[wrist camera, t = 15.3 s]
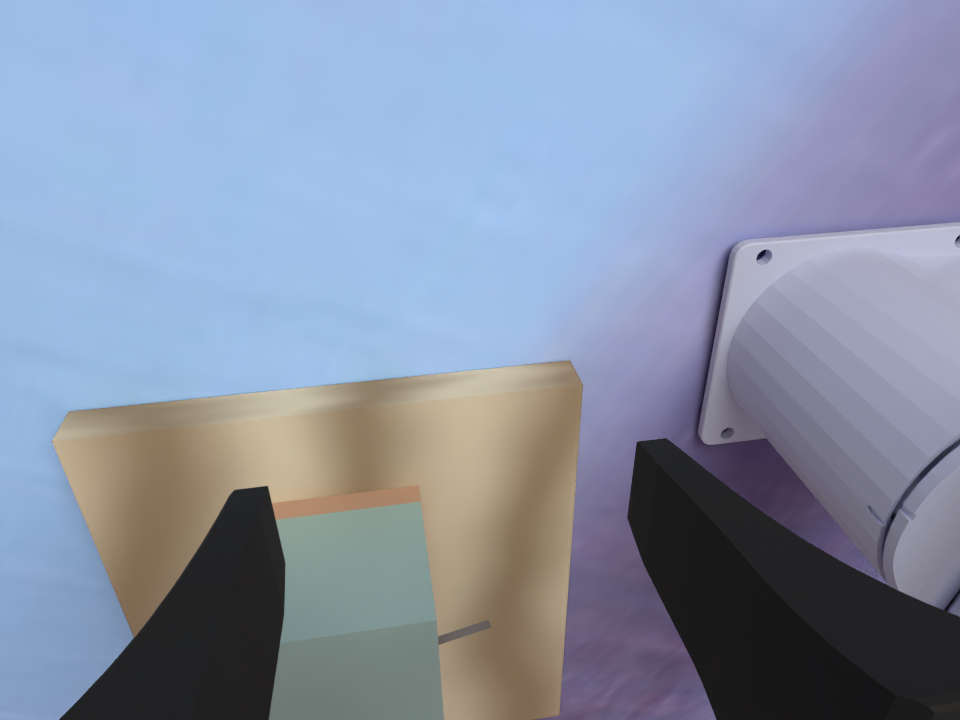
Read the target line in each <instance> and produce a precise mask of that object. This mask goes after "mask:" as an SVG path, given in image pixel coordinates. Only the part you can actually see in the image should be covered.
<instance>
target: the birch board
mask: <svg viewBox="0 0 960 720" xmlns="http://www.w3.org/2000/svg"><path fill="white" fill-rule="evenodd" d="M582 390H583V384H582V382H581V380H580V378H579V376H578V374H577V372H576V370H575V369H574V367H573V365H572V363H571V361H560V362H550V363H540V364H531V365H521V366H511V367H501V368H492V369H482V370H472V371H462V372H453V373H443V374H433V375H423V376H413V377H404V378H394V379H384V380H374V381H365V382H355V383H345V384H335V385H325V386H316V387H306V388H296V389H286V390H277V391H267V392H257V393H247V394H238V395H228V396H218V397H208V398H198V399H189V400H179V401H169V402H159V403H150V404H140V405H130V406H120V407H110V408H101V409H91V410H81V411H71V412H68V414H67V416H66V417H65V419H64V421H63V423H62V425H61V426H60V428H59V430H58V432H57V433H56V435H55V437H54V439H53V440H52V443H53V445H54V447H55V450H56V452H57V455H58V457H59V459H60V462H61V464H62V467H63V469H64V471H65V474H66V476H67V478H68V481H69V483H70V486H71V488H72V490H73V493H74V495H75V498H76V500H77V502H78V505H79V507H80V509H81V512H82V514H83V517H84V519H85V521H86V524H87V526H88V529H89V531H90V533H91V536H92V538H93V540H94V543H95V545H96V548H97V550H98V552H99V555H100V557H101V560H102V562H103V564H104V567H105V569H106V572H107V574H108V576H109V579H110V581H111V583H112V586H113V588H114V591H115V593H116V595H117V598H118V600H119V603H120V605H121V607H122V610H123V612H124V614H125V617H126V619H127V622H128V624H129V626H130V629H131V631H132V634H133V636H134V637H135V636H136V635H137V634H138V632H139V631H140V630H141V629H142V627H143V626H144V625H145V624H146V622H147V621H148V620H149V618H150V617H151V616H152V614H153V613H154V612H155V610H156V609H157V608H158V606H159V605H160V603H161V602H162V601H163V599H164V598H165V597H166V595H167V594H168V593H169V591H170V590H171V588H172V587H173V586H174V584H175V583H176V581H177V580H178V579H179V577H180V576H181V574H182V572H183V571H184V569H185V568H186V566H187V565H188V563H189V562H190V560H191V559H192V557H193V556H194V554H195V553H196V551H197V550H198V548H199V546H200V545H201V543H202V542H203V540H204V538H205V537H206V535H207V533H208V532H209V530H210V528H211V527H212V525H213V523H214V522H215V520H216V518H217V517H218V515H219V513H220V511H221V509H222V508H223V506H224V504H225V502H226V500H227V499H228V497H229V495H230V494H231V493H232V492H233V491H234V490H237V489H246V488H254V487H262V486H268V488H269V493H270V497H271V502H272V503H279V502H287V501H295V500H303V499H311V498H319V497H327V496H336V495H344V494H352V493H360V492H368V491H376V490H384V489H393V488H401V487H409V486H417V485H418V486H419V494H420V501H421V508H422V516H423V523H424V530H425V538H426V545H427V552H428V560H429V567H430V574H431V582H432V589H433V597H434V604H435V611H436V619H437V631H438V645H439V658H440V672H441V686H442V699H443V713H444V720H535V719H541V718H546V717H552V716H558V715H559V711H560V697H561V683H562V669H563V655H564V641H565V627H566V613H567V599H568V585H569V571H570V557H571V543H572V529H573V516H574V502H575V488H576V474H577V460H578V446H579V432H580V418H581V404H582Z"/></svg>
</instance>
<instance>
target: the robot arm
mask: <svg viewBox="0 0 960 720" xmlns="http://www.w3.org/2000/svg"><path fill="white" fill-rule="evenodd" d="M959 235H960V222H956V223H944V224H932V225H920V226H907V227H895V228H883V229H871V230H859V231H846V232H834V233H822V234H810V235H798V236H785V237H773V238H761V239H749V240H744V241H741V242H739V243H738V244H736V245H735V246H734V248H733V249H732V250H731V253H730V256H729V262H728V267H727V273H726V278H725V284H724V289H723V295H722V300H721V306H720V311H719V317H718V322H717V328H716V334H715V339H714V345H713V350H712V356H711V361H710V367H709V372H708V378H707V383H706V389H705V394H704V400H703V405H702V411H701V417H700V422H699V428H698V435H699V437H700V438H701V440H702V441H703V443H705V444H707V445H716V444H724V443H732V442H741V441H749V440H757V439H765V438H766V439H767V440H768V441H769V442H770V443H771V445H772V446H773V447H774V448H775V449H776V451H777V452H778V453H779V454H780V455H781V457H782V458H783V459H784V460H785V461H786V463H787V464H788V465H789V466H790V467H791V469H792V470H793V471H794V472H795V473H796V475H797V476H798V477H799V478H800V479H801V481H802V482H803V483H804V484H805V485H806V487H807V488H808V489H809V490H810V491H811V493H812V494H813V495H814V496H815V497H816V499H817V500H818V501H819V502H820V503H821V505H822V506H823V507H824V508H825V509H826V511H827V512H828V513H829V514H830V515H831V517H832V518H833V519H834V520H835V522H836V523H837V524H838V525H839V526H840V528H841V529H842V530H843V531H844V532H845V534H846V535H847V536H848V537H849V538H850V540H851V541H852V542H853V543H854V544H855V546H856V547H857V548H858V549H859V550H860V552H861V553H862V554H863V555H864V556H865V558H866V559H867V560H868V561H869V562H870V564H871V565H872V566H873V567H874V568H875V570H876V571H877V572H878V573H879V574H880V576H881V577H882V578H883V579H884V580H885V582H886V583H887V585H886V584H884V583H882V582H880V581H878V580H876V579H874V578H872V577H870V576H868V575H866V574H864V573H862V572H860V571H858V570H856V569H854V568H852V567H850V566H849V565H847V564H845V563H843V562H841V561H839V560H838V559H836V558H834V557H833V556H831V555H829V554H827V553H826V552H824V551H822V550H820V549H819V548H817V547H815V546H813V545H812V544H810V543H808V542H807V541H805V540H804V539H802V538H800V537H799V536H797V535H796V534H794V533H793V532H791V531H790V530H788V529H787V528H785V527H784V526H782V525H781V524H779V523H778V522H776V521H775V520H773V519H772V518H770V517H769V516H767V515H766V514H764V513H763V512H762V511H760V510H759V509H757V508H756V507H754V506H753V505H752V504H750V503H749V502H748V501H746V500H745V499H743V498H742V497H741V496H739V495H738V494H737V493H735V492H734V491H733V490H731V489H730V488H729V487H728V486H726V485H725V484H724V483H722V482H721V481H720V480H718V479H717V478H716V477H715V476H713V475H712V474H711V473H710V472H708V471H707V470H706V469H705V468H703V467H702V466H701V465H699V464H698V463H697V462H696V461H694V460H693V459H692V458H691V457H689V456H688V455H687V454H686V453H684V452H683V451H682V450H681V449H679V448H678V447H677V446H676V445H674V444H673V443H672V442H670V441H669V440H668V439H666V438H664V439H656V440H648V441H639V442H637V446H636V453H635V461H634V469H633V477H632V485H631V493H630V501H629V509H628V517H627V518H628V521H629V524H630V527H631V530H632V533H633V536H634V538H635V541H636V544H637V547H638V550H639V552H640V555H641V558H642V561H643V563H644V565H645V567H646V569H647V572H648V574H649V576H650V578H651V580H652V582H653V584H654V586H655V588H656V590H657V592H658V594H659V596H660V598H661V600H662V602H663V604H664V606H665V608H666V610H667V611H668V613H669V615H670V617H671V619H672V621H673V623H674V625H675V627H676V629H677V631H678V633H679V635H680V637H681V639H682V641H683V643H684V645H685V647H686V649H687V651H688V653H689V655H690V657H691V659H692V661H693V663H694V665H695V667H696V670H697V672H698V674H699V676H700V678H701V681H702V683H703V686H704V688H705V691H706V693H707V696H708V698H709V701H710V704H711V706H712V709H713V711H714V714H715V717H716V719H717V720H960V237H959V239H958V240H957V241H956V242H955V240H956V238H957V237H958V236H959ZM763 250H766V253H765V255H764V256H763V257H762V258H761V259H759V260H756V258H757V256H758V254H759V253H760V252H761V251H763ZM726 428H728V430H727V431H725V432H723V433H722V431H723V430H724V429H726ZM285 564H286V563H285V559H284V554H283V550H282V546H281V541H280V537H279V532H278V528H277V524H276V519H275V515H274V510H273V506H272V502H271V497H270V493H269V488H268V486H262V487H254V488H246V489H237V490H234V491H233V492H232V493H231V494H230V495H229V497H228V499H227V500H226V502H225V504H224V506H223V508H222V509H221V511H220V513H219V515H218V517H217V518H216V520H215V522H214V523H213V525H212V527H211V528H210V530H209V532H208V533H207V535H206V537H205V538H204V540H203V542H202V543H201V545H200V546H199V548H198V550H197V551H196V553H195V554H194V556H193V557H192V559H191V560H190V562H189V563H188V565H187V566H186V568H185V569H184V571H183V572H182V574H181V576H180V577H179V579H178V580H177V581H176V583H175V584H174V586H173V587H172V588H171V590H170V591H169V593H168V594H167V595H166V597H165V598H164V599H163V601H162V602H161V603H160V605H159V606H158V608H157V609H156V610H155V612H154V613H153V614H152V616H151V617H150V618H149V620H148V621H147V622H146V624H145V625H144V626H143V627H142V629H141V630H140V631H139V632H138V634H137V635H136V636H135V637H134V639H133V640H132V641H131V642H130V644H129V645H128V646H127V647H126V648H125V649H124V651H123V652H122V653H121V654H120V655H119V656H118V658H117V659H116V660H115V661H114V662H113V663H112V665H111V666H110V667H109V668H108V669H107V670H106V671H105V672H104V673H103V675H102V676H101V677H100V678H99V679H98V680H97V681H96V682H95V683H94V684H93V685H92V686H91V687H90V688H89V689H88V691H87V692H86V693H85V694H84V695H83V696H82V697H81V698H80V699H79V700H78V701H77V702H76V703H75V704H74V705H73V706H72V707H71V708H70V709H69V710H68V711H67V712H66V713H65V714H64V715H63V716H62V717H61V718H60V719H59V720H269V715H270V708H271V701H272V695H273V688H274V681H275V674H276V668H277V661H278V654H279V647H280V640H281V633H282V626H283V619H284V605H285Z"/></svg>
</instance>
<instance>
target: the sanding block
mask: <svg viewBox="0 0 960 720" xmlns="http://www.w3.org/2000/svg"><path fill="white" fill-rule="evenodd" d="M272 506H273V510H274V515H275V519H276V524H277V528H278V532H279V537H280V541H281V546H282V550H283V554H284V559H285V563H286V564H285V605H284V619H283V626H282V633H281V640H280V647H279V654H278V661H277V668H276V674H275V681H274V688H273V695H272V701H271V708H270V715H269V720H444V713H443V699H442V686H441V672H440V658H439V645H438V631H437V619H436V611H435V604H434V597H433V589H432V582H431V574H430V567H429V560H428V552H427V545H426V538H425V530H424V523H423V516H422V508H421V501H420V494H419V486H418V485H417V486H409V487H401V488H393V489H384V490H376V491H368V492H360V493H352V494H344V495H336V496H327V497H319V498H311V499H303V500H295V501H287V502H279V503H272Z"/></svg>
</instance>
